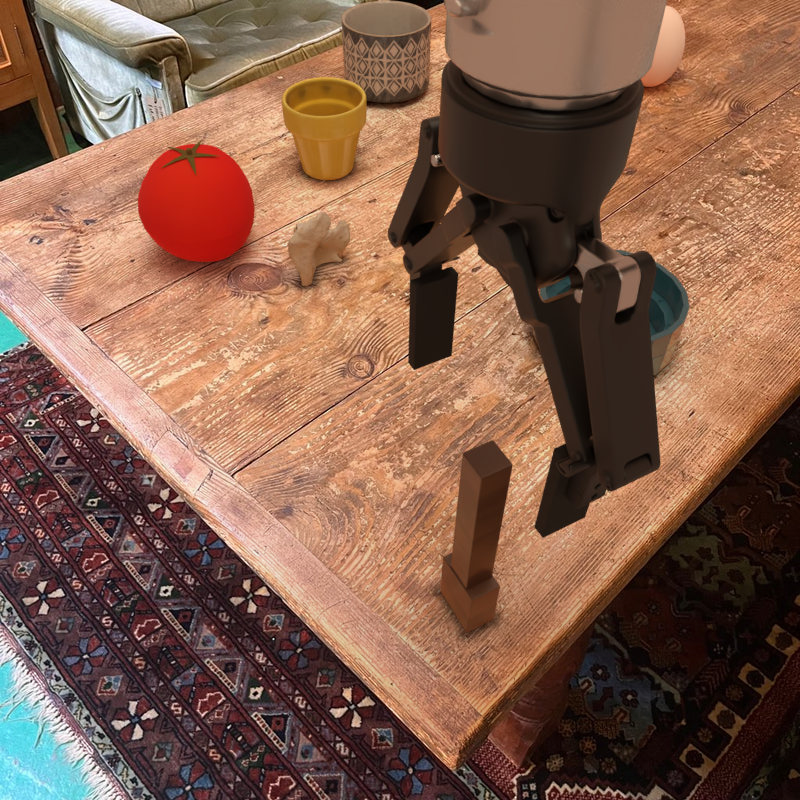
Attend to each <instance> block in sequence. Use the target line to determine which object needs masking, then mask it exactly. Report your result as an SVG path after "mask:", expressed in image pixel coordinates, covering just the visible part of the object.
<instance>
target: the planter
mask: <svg viewBox="0 0 800 800" xmlns="http://www.w3.org/2000/svg"><path fill="white" fill-rule="evenodd" d="M341 37H342V59H343V79H345V80H348V81H351V82H354V83H356V84H357V85H359V86H360V87H361V88H362V89H363V90H364V92H365V94H366V102H372V103H374V102H375V103H379V104H381V103H382V104H389V103H391V104H392V103H400V102H407V101H411V100H413V99H415V98H418V97H419V96H421V95H422V94H424V93H425V92H426V91H427V89H428V88H429V85H430V71H431V70H430V69H431V43H432V42H431V40H432V15H431V14H430V13H429V11H428V10H426V9H425V8H424V7H422V6H419V5H417V4H414V3H410V2H407V1H406V2H405V1H399V0H373V1H367V2H363V3H358V4H356V5H353V6H351V7H348V9H346V10H345V11H344V12H343V14H342V15H341Z"/></svg>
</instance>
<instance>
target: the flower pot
mask: <svg viewBox="0 0 800 800" xmlns="http://www.w3.org/2000/svg"><path fill="white" fill-rule="evenodd" d="M367 108H368V107H367V100H366V94H365V92H364V90H363V89H362V88H361V87H360V86H359V85H357V84H356V83H354V82H351V81H348V80H345V79H344V78H339V77H333V76H332V77H331V76H318V77H310V78H306V79H303V80H302V79H301V80H299V81H298V82H295V83H293V84H291V85H290V86H289V87H287V88H286V89H285V91H284V92H283V94H282V96H281V109H282V116H283V123H284V126H285V128H286V129H287V131H288V132H289V133H290V134H291V136H292V139H293V141H294V145H295V147H296V148H295V149H296V151H297V155H298V158H299V160H300V163H301V167H302V169H303V172H304V173H305V174H306V175H307V176H309V177H310V178H313V179H316V180H320V181H334V180H339V179H342V178H344V177H346V176H348V175H349V174H350V173H351V172H352V171H353V168H354V163H355V161H356V154H357V149H358V144H359V139H360V134H361V131H362V130H363V129H364V127H365V125H366V123H367V110H368V109H367Z"/></svg>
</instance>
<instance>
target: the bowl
mask: <svg viewBox="0 0 800 800" xmlns="http://www.w3.org/2000/svg"><path fill="white" fill-rule="evenodd" d="M613 249H614V248H613ZM614 250H616V251H617V252H619V253H620V254H622V255H623V256H627V255H630V254H633V253H634V252H630V251H627V250H621V249H614ZM655 263H656V267H657V269H656V277H655V282H654V287H653V291H652V296H651V301H650V306H649V321H650V334H651V347H652V360H653V373H654V376H655V375H658V374H659V373H660V372H661V371H662V370H663V369H664V368H665V367H666V366H667V365H668V364H669V363H670V362H671V360H672V358H673V354H674V352H675V349H676V347H677V344H678V342H679V339H680V336H681V333H682V331H683V328H684V325H685V322H686V319H687V316H688V314H689V311H690V307H691V306H690V300H689V295H688V291H687V290H686V287H684V285H683V284H682V282H681V280H679V278H678V277H677V276H676V275H675V274H673V272H671V271H669V270H668V269H667V268H666V267H665V266H663V265H662V264H660V263H659V262H656V261H655ZM570 287H571V282H570V279H569V275H568V276H567V277H565V278H563V279H562V280H560V281H559V282H557V283H555V284H552V285H550V286H547V287H544V288H541V289H539V290H538V291H539V295H540V298H541V300H542V301H543V300H546V299H548V298H551V297H554V296H556V295H559V294H562V293H565V292H567V291H568V290H569V289H570ZM532 337H533V338H534V340H535V342H536V343H535V344H536V345H537V348H539V346H538V343H537V339H536V336H535V332H534V329H533V328H532Z"/></svg>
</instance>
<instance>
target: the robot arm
mask: <svg viewBox="0 0 800 800" xmlns="http://www.w3.org/2000/svg"><path fill="white" fill-rule="evenodd" d="M667 3H668V0H443V6H444V9H445V11H446V14H445V29H444V30H445V31H444V49H445V53H446V55H447V56H448V58H449V60H448V62H447V63H446V64H445V66H444V67H443V68H442V73H441V84H440V103H439V114H438V115H435V116H432V117H427V118H424V119H422V120H421V122H420V127H419V137H418V147H417V156H416V159H415V161H414V164H413V166H412V168H411V171H410V174H409V175H408V179H407V181H406V183H405V186H404V188H403V191H402V194H401V196H400V198H399V202H397V206H396V208H395V211H394V212H393V213H394V214H393V216H392V219H391V221H390V223H389V226H388V228H387V238H388V241H389V243H390V245H391V246H392V248H393V249H397V248H402V250H403V252H404V253H403V255H402V264H403V266H404V269H405V271H406V272H407V274H408V275H409V297H408V298H409V299H408V301H409V316H408V317H409V318H408V319H409V320H408V352H407V353H408V354H407V355H408V356H407V357H408V358H407V363H408V365H409V366H410V367H411V368H412V370H413V371H416V370H419V369H421V368H423V367H426V366H430V365H431V364H434V363H436V362H440V361H443V360H445V359H448V358H450V357H452V356H453V345H454V333H455V323H456V322H455V321H456V309H457V296H458V287H459V285H458V284H459V283H458V282H459V272H457V270H456V269H455V268H454V267H453V266H449V267H448V266H447V267H445V268H443V265H445V264H447V263H451V262H453V261H457V260H459V259H461V257H460V256H461V255H462V254H463V253H464V252H466V251H468V250H469V249H470V248H472V247H473V246H474V245H476V247H477V255H478V256H479V257H480V259H482V260H483V262H485V263H486V264H487V265H488V266H490V267H492V268H493V269H495V270H496V271H497V272H498V274H499V275H500V277H501V279H502V280H503V281H504V283H505V284H506V285H507V286H508V287H509V288H510V289H511V292H512V295H513V299H514V302H515V306H516V309H517V313H518V316H519V318H520V320H521V321H522V323H525V324H527V325H530V326H531V327H532V330H533V329H534V332H535V336H536V339H537V343H538V345H537V347H538V346H539V347H538V350H539V353H540V357H541V360H542V364H543V367H544V368H543V369H544V371H545V375H546V379H547V382H548V386H549V389H550V392H551V397H552V399H553V404H554V407H555V411H556V414H557V417H558V421H559V425H560V429H561V432H562V435H563V440H564V444H561V445H559V446H557V447H555V448H553V452H552V455H551V460H550V462H549V467H548V471H547V475H546V479H545V483H544V486H543V487H544V488H543V492H542V495H541V499H540V503H539V506H538V507H539V508H538V511H537V515H536V519H535V523H534V529H535V530H536V531H537V533H538V534H539V535H540V537H541V538H542V539H545V538H546V537H548V536H550V535H552V534H554V533H557V532H558V531H561V530H562V529H565V528H566V527H568V526H570V525H573V524H574V523H576V522H579V521H580V520H583V519H585V518H586V516H587V513H588V510H589V507H590V504H591V503H593V502H595V501H597V500H600V499H601V498H602V497H604V496H605V495H606V494H607V493H606V492H611V493H612V492H615V491H617V490H619V489H621V488H624V487H625V486H627V485H629V484H631V483H634V482H636V481H637V480H640V479H642V478H643V477H645V476H648V475H650V474H652V473H654V472H656V471H658V470H659V469H660V467H661V463H662V462H661V450H660V437H659V425H658V424H659V423H658V411H657V401H656V399H657V398H656V387H655V375H654V373H653V360H652V347H651V334H650V321H649V306H650V301H651V296H652V291H653V287H654V282H655V277H656V269H657V267H656V263H657V262H656V260H655V258H654V257H653V255H652V254H651V253H650V252H648V251H646V250H639V251H636V252H632V253H633V254H630V255H627V256H623V255H622V254H620V253H619V252H617V251H616V250H617V249H615V250H614V248H613V247H611V246H610V245H608V244H607V243H605V242H604V241H603V234H602V233H603V232H602V227H601V209H602V205H603V203H604V201H605V200H606V198H607V197H608V195H609V193H610V192H611V190H612V189H613V188H614V186H615V185H616V183H617V182H618V180H619V179H620V178H621V176H622V174H623V172H624V171H625V168H626V166H627V163H628V159H629V155H630V150H631V147H632V143H633V139H634V134H635V130H636V128H637V127H636V126H637V123H638V119H639V115H640V112H641V108H642V103H643V99H644V94H645V88H644V87H645V86H643V83H642V81H641V78H642V77H644V76H645V74H646V73H647V72H648V71H649V70H650V69H651V67H652V62H653V58H654V54H655V50H656V45H657V41H658V37H659V33H660V29H661V24H662V20H663V16H664V12H665V7H666V6H667ZM459 189H460V193H461V197H460V199H458V200H457V201H456V202H455V206H454V207H453V208H451V209H450V210H449V211H448V209H449V207H450V205H451V203H452V202H453V199H454V197H455V195H456V194H457V192H458V190H459ZM447 211H448V212H447ZM655 262H656V263H655ZM568 275H569V279H570V282H571V287H570V289H569V290H568V291H567V292H565V293H562V294H559V295H556V296H554V297H551V298H548V299H546V300H543V301H542V300H541V298H540V295H539V291H538V290H539V289H541V288H544V287H547V286H550V285H552V284H555V283H557V282H559V281H560V280H562V279H563V278H565V277H567V276H568ZM537 343H536V344H537Z"/></svg>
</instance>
